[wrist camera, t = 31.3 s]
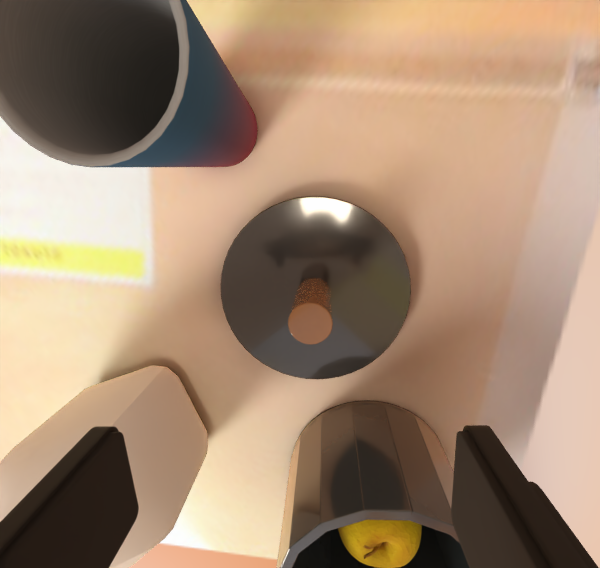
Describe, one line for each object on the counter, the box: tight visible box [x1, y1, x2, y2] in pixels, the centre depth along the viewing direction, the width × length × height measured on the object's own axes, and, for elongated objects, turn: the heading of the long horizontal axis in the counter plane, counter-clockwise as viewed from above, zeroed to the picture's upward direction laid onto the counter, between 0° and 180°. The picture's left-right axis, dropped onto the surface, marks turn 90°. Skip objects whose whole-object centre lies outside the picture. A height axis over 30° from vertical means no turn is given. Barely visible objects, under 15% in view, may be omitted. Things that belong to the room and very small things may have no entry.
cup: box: [0, 0, 257, 167], centre depth 17 cm, size 7×7×15 cm
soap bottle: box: [0, 365, 208, 568], centre depth 20 cm, size 10×10×23 cm
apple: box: [338, 520, 422, 568], centre depth 27 cm, size 6×6×8 cm
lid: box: [221, 196, 411, 379], centre depth 24 cm, size 14×14×7 cm
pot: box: [277, 401, 469, 568], centre depth 26 cm, size 13×13×10 cm
